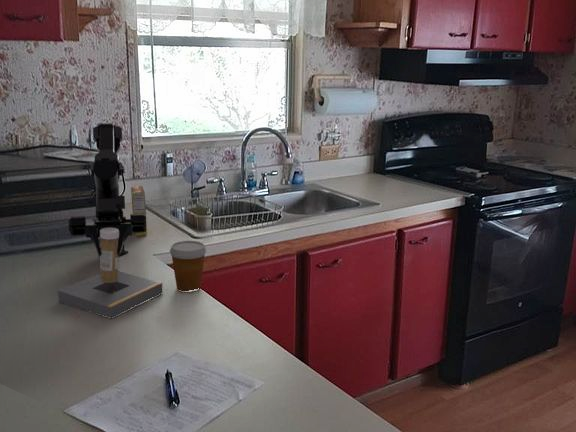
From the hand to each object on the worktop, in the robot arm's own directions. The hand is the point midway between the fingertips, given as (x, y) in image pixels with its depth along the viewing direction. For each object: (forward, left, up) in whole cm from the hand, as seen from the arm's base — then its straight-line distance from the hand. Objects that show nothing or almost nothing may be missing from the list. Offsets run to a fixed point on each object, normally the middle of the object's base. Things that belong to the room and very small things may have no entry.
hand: (109, 254), depth 151 cm
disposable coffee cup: (-17, +11, -12) cm, 24 cm away
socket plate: (-1, -1, -12) cm, 12 cm away
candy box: (-46, -34, -12) cm, 58 cm away
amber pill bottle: (-1, -1, -7) cm, 8 cm away
